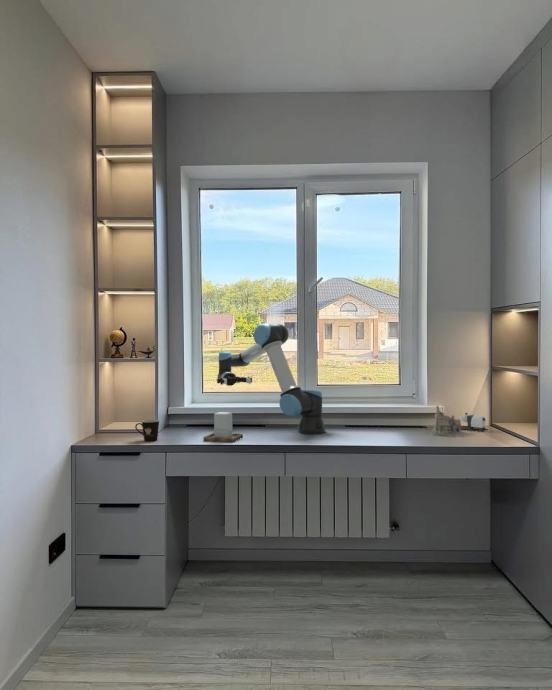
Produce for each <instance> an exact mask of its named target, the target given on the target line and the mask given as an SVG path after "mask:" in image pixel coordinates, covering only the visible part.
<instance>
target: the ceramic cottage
mask: <svg viewBox="0 0 552 690" xmlns="http://www.w3.org/2000/svg"><path fill="white" fill-rule="evenodd" d="M435 410H436V413H435V414H434V418H435V419H434V420H435V421H434V424H433V428H432V429H431V434H432V436H435V437H436V436H437V437H454V436H459V435H462V434H463V432H462V424H461V423H462V422H461V419H460V418H458V419H455V415H454V414H453V415H451V417H450V415H447V414H444V413H443V412H442V411H441V410H440V408H439V405H436V409H435Z"/></svg>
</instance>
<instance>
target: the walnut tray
mask: <svg viewBox="0 0 552 690" xmlns="http://www.w3.org/2000/svg"><path fill="white" fill-rule="evenodd" d="M242 437H243V438H244V434H243V433H233V432H232V437H230V438H218V437H214V432H213V433H209V434H208V435H205V436H203V442H209V441H211V442H212V443H228V442H234V443H236V442H237V441H236V440H238V439H239V440H241V439H243V438H242ZM240 438H241V439H240ZM239 440H238V441H239ZM235 441H236V442H235Z"/></svg>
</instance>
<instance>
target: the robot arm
mask: <svg viewBox="0 0 552 690" xmlns="http://www.w3.org/2000/svg"><path fill="white" fill-rule="evenodd" d="M289 335H290V334H289V330H288V328H287V327H286V326H285V325H283V324H281V323H259V324H258V325H257V326H256V327H255V329H254V332H253V340H254V342H255V343H254V344H253V345H252V346H249V347H248V348H246V349H244V350H243V351H241V352H240V353H238V354H232V352H231V351H220V352H218V373H217V377H216V378H217V379H216V383H217V384H220V385H221V386H223V385H226V386H227V387H229V386H230V387H231V386H234V385H236V384H239V383H246V384H248V385H249V384H252V383H253V377H250V376H248V377H243V376H236V374H235V373H234V372H233V373H232V368H236V367H238V368H239V367H240V368H241V367H242V368H243V367H244V368H245V367H247V366H249V364H250V363H251V362H252V361H253V360H255V359H256V358H258V357H261V356H262V355H264V354H265V353H266V355H267V357H268V360H269V362H270V365H271V367H272V370H273V372H274V375H275V377H276V378H275V379H276V380H277V383H278V386H279V388H280V391H281V393H280V395H279V396H280V399H279V408H280V410H281V412H282V413H283V414H284V415H286V416H289V417H297V416H300V420H299V422H298V425H297V426H298V427H297V432H298V433H300V434H307V435H308V434H309V435H313V434H317V435H319V434H324V433H326V426H325V423H324V419H323V393H322V391H320V390H314V389H313V390H311V389H301V386H299V385H297V384H296V381H295V378H294V376H293V373H292V371H291V369H290V366H289V364H288V361H287V358H286V356H285V353H284V350H283V348H282V345H284V344H285V343H286V342H287V341H288V339H289Z"/></svg>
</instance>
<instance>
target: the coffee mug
mask: <svg viewBox="0 0 552 690" xmlns="http://www.w3.org/2000/svg"><path fill="white" fill-rule="evenodd" d="M138 425H140V426H141V427H142V432H141V431H140V430H139V429H138V428H137V426H138ZM159 426H160V420H159V419H144V420H141V423H140V422H139V423H136V424H135V430H136V431H137V432H139V434H141V435H142V436H143V441H144V442H146V443H152V442H154V443H155V442H157V441H158V436H159V428H160V427H159Z"/></svg>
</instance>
